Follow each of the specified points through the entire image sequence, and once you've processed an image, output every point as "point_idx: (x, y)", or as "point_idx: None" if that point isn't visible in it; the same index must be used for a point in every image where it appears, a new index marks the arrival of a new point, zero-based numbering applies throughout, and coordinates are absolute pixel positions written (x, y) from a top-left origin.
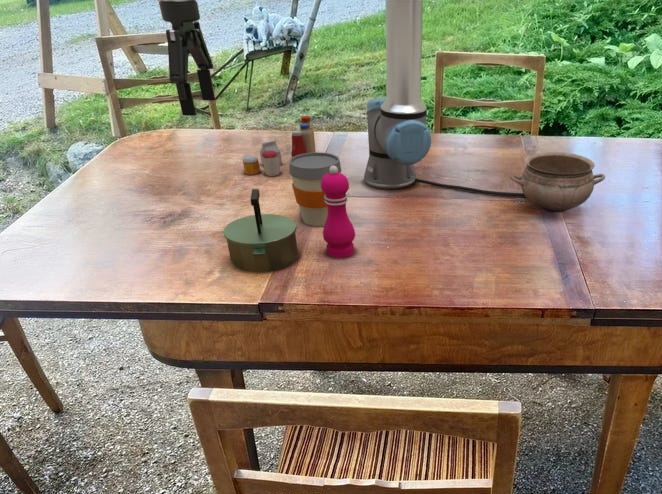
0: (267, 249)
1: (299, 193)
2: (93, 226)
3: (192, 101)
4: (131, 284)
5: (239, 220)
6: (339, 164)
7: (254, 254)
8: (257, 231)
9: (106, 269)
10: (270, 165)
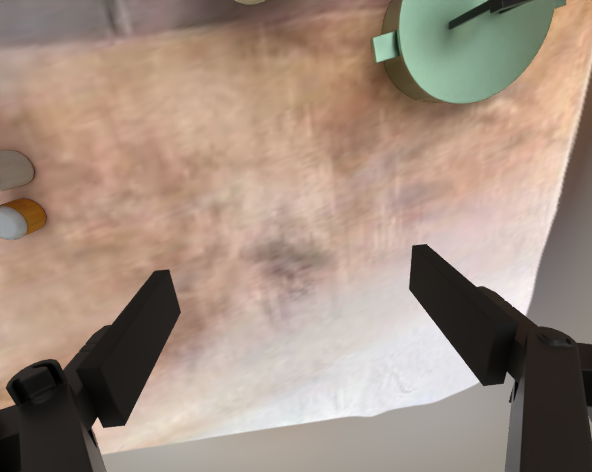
0: None
1: None
2: (329, 346)
3: (452, 270)
4: (509, 218)
5: (434, 83)
6: None
7: (565, 1)
8: (495, 17)
9: (461, 269)
10: (11, 167)
